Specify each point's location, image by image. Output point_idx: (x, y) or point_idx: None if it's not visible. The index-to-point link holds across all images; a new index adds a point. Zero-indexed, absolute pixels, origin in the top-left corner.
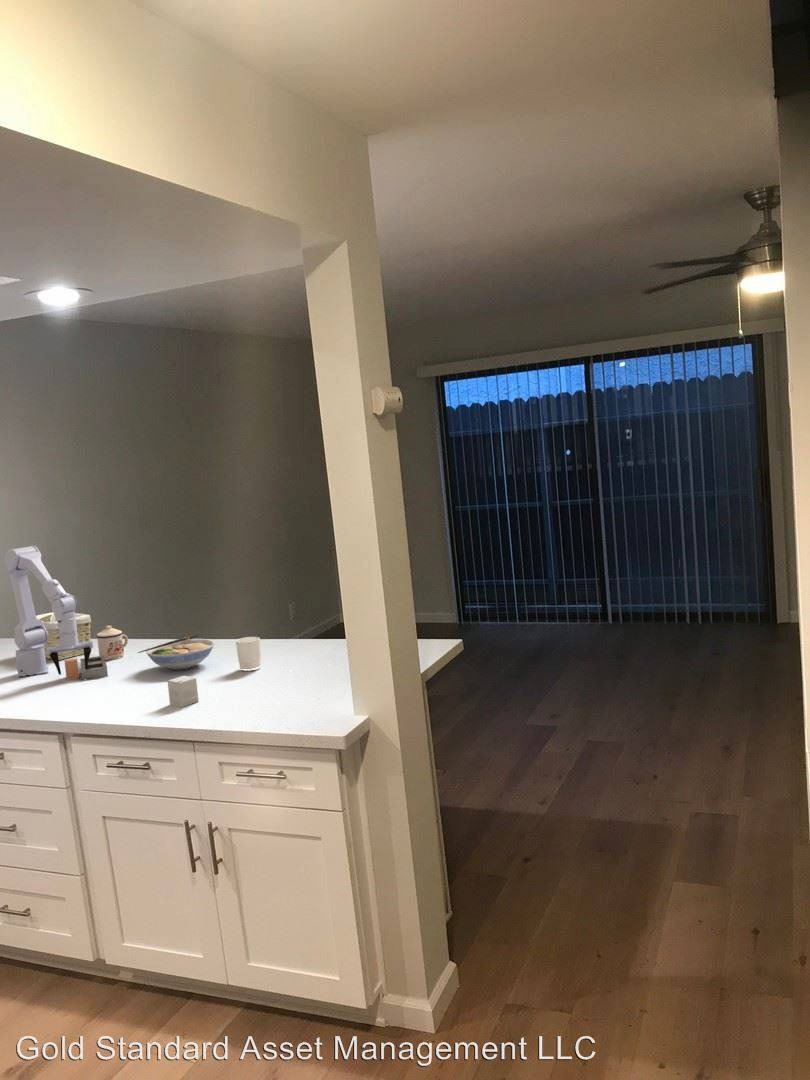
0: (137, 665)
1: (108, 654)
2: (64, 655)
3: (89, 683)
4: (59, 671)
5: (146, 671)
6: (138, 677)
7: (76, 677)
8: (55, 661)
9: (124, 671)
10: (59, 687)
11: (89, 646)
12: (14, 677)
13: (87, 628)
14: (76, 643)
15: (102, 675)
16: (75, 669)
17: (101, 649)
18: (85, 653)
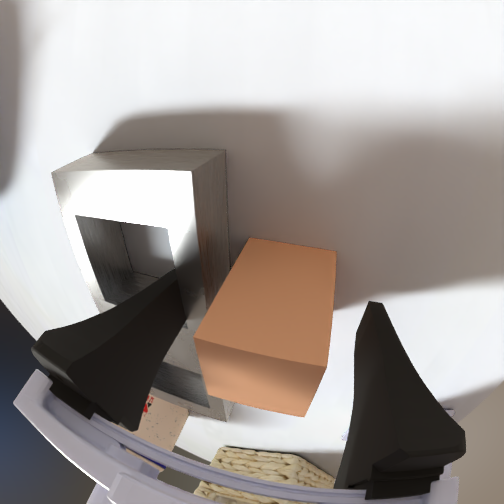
0: (49, 261)
1: (150, 400)
2: (276, 460)
3: (181, 17)
4: (379, 316)
5: (7, 149)
6: (14, 64)
7: (266, 243)
8: (416, 397)
9: (55, 203)
10: (419, 45)
11: (51, 397)
12: (456, 414)
13: (201, 492)
14: (94, 495)
15: (105, 154)
16: (248, 282)
17: (163, 426)
18: (79, 346)
